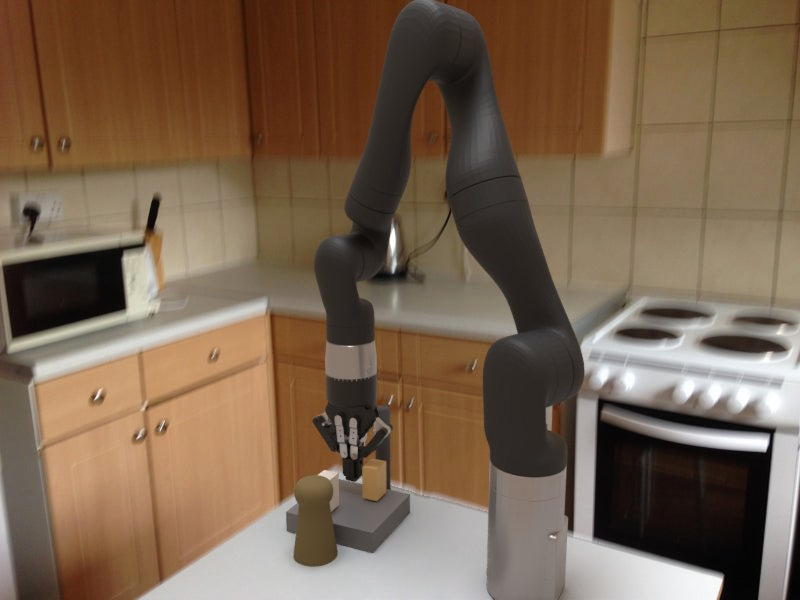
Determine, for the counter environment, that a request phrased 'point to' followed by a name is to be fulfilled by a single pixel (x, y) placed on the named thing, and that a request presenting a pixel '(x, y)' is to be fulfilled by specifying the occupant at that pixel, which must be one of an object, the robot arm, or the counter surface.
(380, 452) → the post
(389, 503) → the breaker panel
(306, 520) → the olive knobbed post
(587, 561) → the counter surface
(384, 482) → the block
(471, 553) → the counter surface
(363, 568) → the counter surface
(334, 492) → the cream rectangular block
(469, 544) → the counter surface
